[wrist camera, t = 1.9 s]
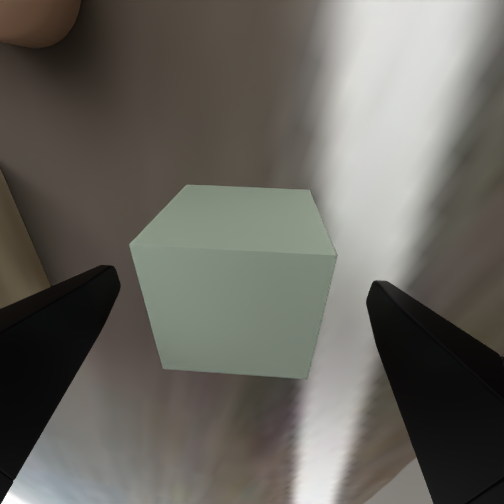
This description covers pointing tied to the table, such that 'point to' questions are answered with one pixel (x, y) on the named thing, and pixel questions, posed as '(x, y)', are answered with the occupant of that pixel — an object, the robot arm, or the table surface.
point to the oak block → (16, 254)
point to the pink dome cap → (36, 21)
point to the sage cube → (236, 280)
